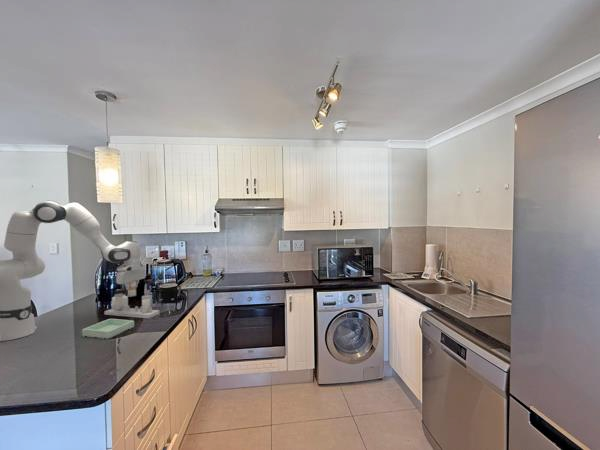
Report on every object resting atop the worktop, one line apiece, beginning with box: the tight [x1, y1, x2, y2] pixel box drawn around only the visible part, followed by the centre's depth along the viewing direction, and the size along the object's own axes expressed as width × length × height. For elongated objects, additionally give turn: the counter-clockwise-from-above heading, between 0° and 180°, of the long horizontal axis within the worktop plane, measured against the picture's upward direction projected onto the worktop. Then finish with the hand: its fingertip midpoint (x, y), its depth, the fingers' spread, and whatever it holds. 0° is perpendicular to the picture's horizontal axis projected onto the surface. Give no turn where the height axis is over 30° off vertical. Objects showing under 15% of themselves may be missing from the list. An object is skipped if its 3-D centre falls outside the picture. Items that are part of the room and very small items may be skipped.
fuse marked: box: [127, 280, 137, 298], centre depth 171 cm, size 5×5×10 cm
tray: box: [81, 318, 135, 340], centre depth 144 cm, size 16×16×4 cm
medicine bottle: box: [111, 288, 129, 309], centre depth 185 cm, size 7×7×12 cm
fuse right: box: [141, 294, 151, 313], centre depth 169 cm, size 5×5×10 cm
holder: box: [104, 305, 160, 319], centre depth 171 cm, size 32×9×5 cm, turn 79°
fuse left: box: [113, 293, 123, 311], centre depth 173 cm, size 5×5×10 cm
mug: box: [154, 283, 182, 304], centre depth 199 cm, size 16×16×12 cm
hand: (131, 288), depth 171 cm, fingers closed on fuse marked, 5 cm apart
